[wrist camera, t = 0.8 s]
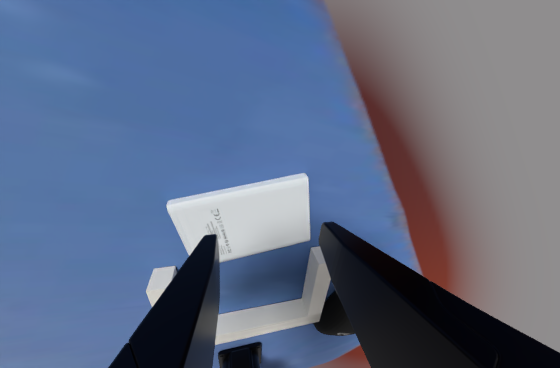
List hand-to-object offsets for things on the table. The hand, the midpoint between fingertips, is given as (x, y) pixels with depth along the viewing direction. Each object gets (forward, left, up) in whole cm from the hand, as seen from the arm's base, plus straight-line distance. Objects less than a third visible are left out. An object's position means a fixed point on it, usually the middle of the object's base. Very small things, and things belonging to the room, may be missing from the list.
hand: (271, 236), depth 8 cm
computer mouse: (-26, -15, -12) cm, 32 cm away
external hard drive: (-8, 0, -12) cm, 14 cm away
